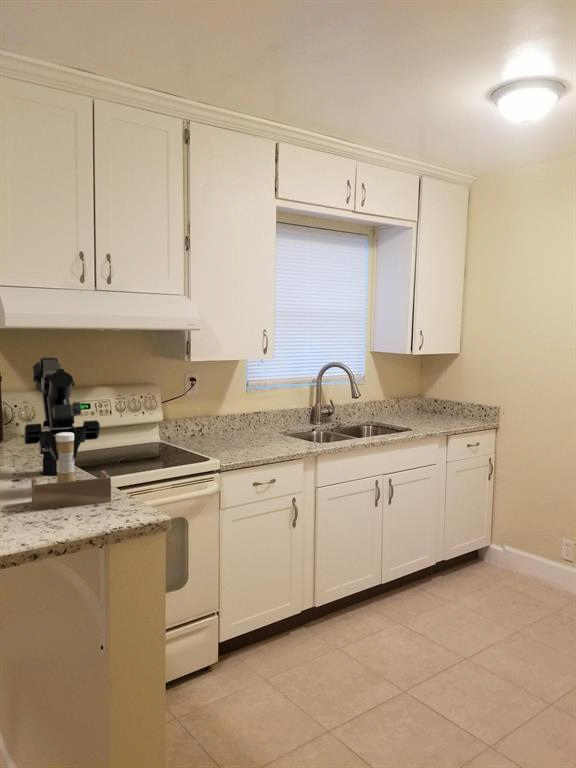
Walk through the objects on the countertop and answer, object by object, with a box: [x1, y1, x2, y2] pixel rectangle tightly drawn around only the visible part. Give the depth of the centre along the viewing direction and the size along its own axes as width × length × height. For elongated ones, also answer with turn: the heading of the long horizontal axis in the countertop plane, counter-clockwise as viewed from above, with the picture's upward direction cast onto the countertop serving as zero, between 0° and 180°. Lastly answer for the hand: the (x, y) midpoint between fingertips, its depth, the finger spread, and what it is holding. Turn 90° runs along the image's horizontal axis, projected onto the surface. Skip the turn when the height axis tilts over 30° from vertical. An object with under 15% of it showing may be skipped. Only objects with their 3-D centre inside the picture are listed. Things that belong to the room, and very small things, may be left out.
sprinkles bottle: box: [56, 432, 76, 483], centre depth 157 cm, size 5×5×14 cm
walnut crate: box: [30, 470, 112, 511], centre depth 148 cm, size 8×18×6 cm, turn 118°
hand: (66, 458), depth 155 cm, fingers closed on sprinkles bottle, 4 cm apart
